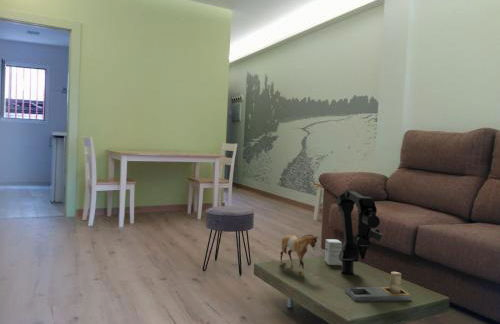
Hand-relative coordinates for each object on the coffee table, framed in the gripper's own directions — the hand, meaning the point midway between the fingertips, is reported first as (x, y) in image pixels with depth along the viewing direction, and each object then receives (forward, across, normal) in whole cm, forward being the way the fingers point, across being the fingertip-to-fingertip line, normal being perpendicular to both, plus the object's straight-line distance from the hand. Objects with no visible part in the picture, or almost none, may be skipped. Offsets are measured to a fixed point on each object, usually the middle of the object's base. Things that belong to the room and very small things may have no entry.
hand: (362, 256), depth 189 cm
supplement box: (+13, +31, +14) cm, 37 cm away
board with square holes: (+13, -14, -6) cm, 20 cm away
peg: (+13, -11, -14) cm, 22 cm away
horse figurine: (+13, +13, +31) cm, 36 cm away
